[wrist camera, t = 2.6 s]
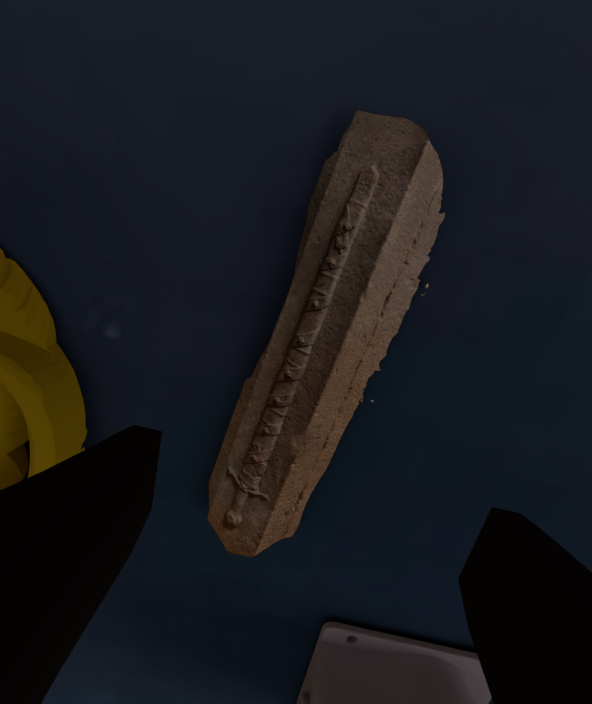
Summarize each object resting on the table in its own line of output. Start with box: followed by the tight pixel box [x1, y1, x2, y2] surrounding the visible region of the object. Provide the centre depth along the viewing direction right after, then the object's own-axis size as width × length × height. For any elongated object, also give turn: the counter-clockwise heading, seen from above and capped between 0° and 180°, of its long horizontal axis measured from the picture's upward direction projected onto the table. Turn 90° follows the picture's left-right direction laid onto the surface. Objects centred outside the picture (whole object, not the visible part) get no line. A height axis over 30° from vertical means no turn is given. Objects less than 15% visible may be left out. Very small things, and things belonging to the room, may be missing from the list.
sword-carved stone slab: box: [207, 110, 445, 557], centre depth 17 cm, size 18×3×4 cm
